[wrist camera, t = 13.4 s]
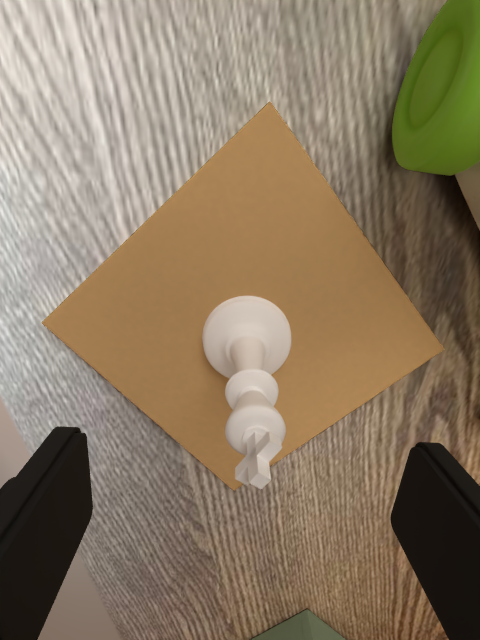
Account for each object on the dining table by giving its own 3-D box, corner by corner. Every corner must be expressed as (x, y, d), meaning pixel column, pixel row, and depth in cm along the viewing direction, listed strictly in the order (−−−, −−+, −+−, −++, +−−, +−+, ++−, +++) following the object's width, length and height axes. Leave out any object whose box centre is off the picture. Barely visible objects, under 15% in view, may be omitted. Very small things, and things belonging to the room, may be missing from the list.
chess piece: (308, 328, 18) (388, 464, 9) (255, 391, 20) (274, 567, 10) (236, 277, 17) (240, 368, 8) (185, 347, 18) (134, 498, 9)
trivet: (46, 319, 18) (40, 323, 18) (268, 104, 15) (270, 100, 15) (233, 484, 23) (233, 491, 22) (438, 345, 19) (445, 349, 19)
